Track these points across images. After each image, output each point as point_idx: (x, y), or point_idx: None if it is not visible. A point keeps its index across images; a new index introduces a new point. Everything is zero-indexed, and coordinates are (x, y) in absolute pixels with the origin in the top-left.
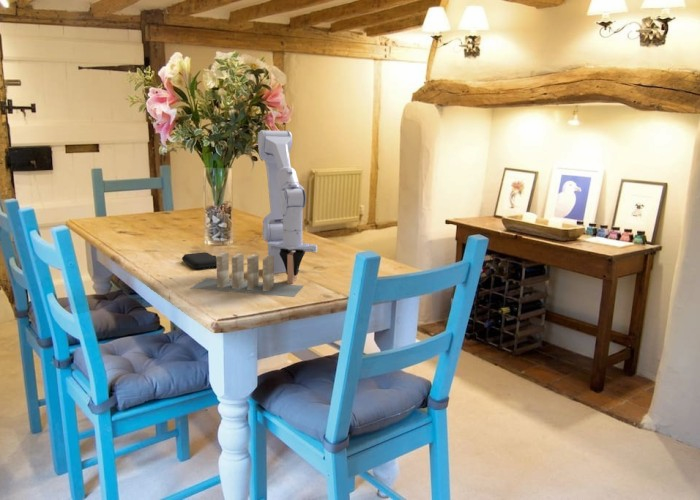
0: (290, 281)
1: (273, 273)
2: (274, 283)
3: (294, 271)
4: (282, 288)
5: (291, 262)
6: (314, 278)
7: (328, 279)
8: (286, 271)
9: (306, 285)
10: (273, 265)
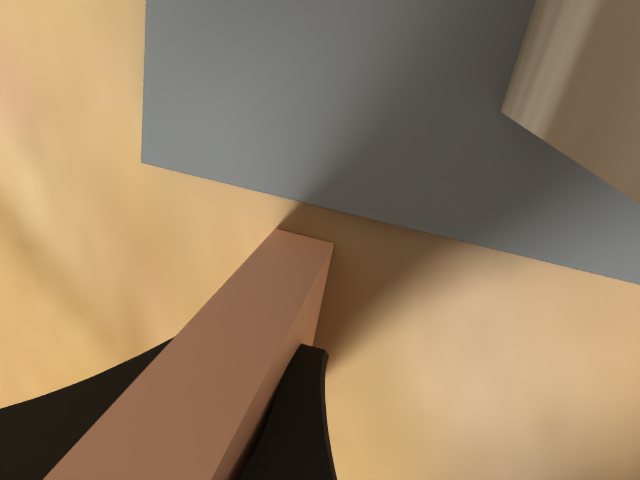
0: (288, 247)
1: (547, 119)
2: (488, 238)
3: None
4: (375, 13)
5: (147, 400)
6: None
7: (5, 384)
8: (319, 369)
9: (134, 208)
10: (610, 153)
